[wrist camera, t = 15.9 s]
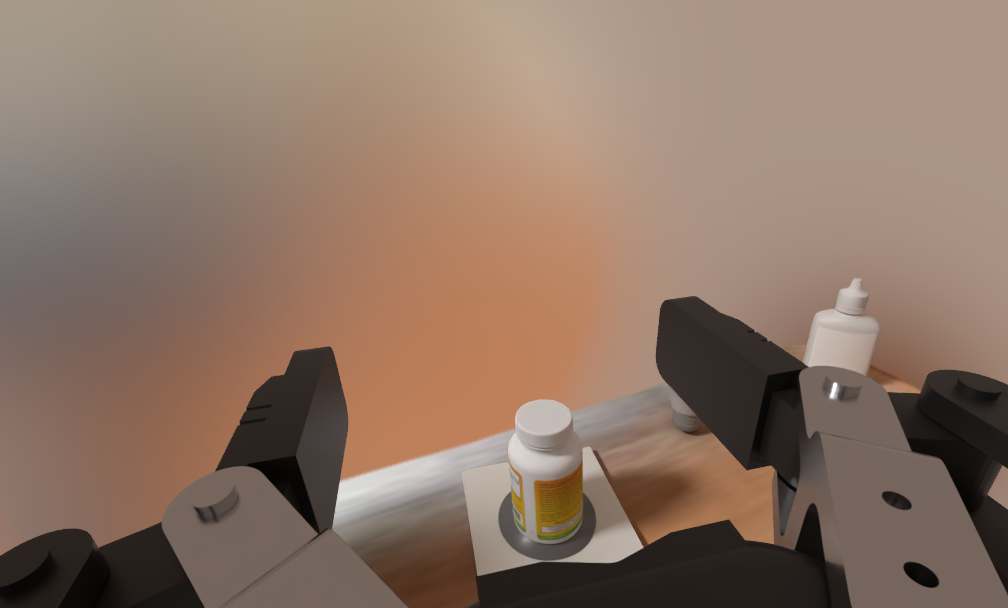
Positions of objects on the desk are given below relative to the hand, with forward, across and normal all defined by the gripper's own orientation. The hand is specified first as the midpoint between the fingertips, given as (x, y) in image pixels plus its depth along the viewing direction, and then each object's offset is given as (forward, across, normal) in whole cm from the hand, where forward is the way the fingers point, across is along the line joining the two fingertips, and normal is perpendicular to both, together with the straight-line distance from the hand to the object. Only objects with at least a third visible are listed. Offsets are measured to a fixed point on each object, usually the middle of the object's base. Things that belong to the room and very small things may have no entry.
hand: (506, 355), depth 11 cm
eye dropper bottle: (+25, -40, +25) cm, 54 cm away
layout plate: (+16, -5, +25) cm, 30 cm away
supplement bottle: (+15, -5, +25) cm, 30 cm away
